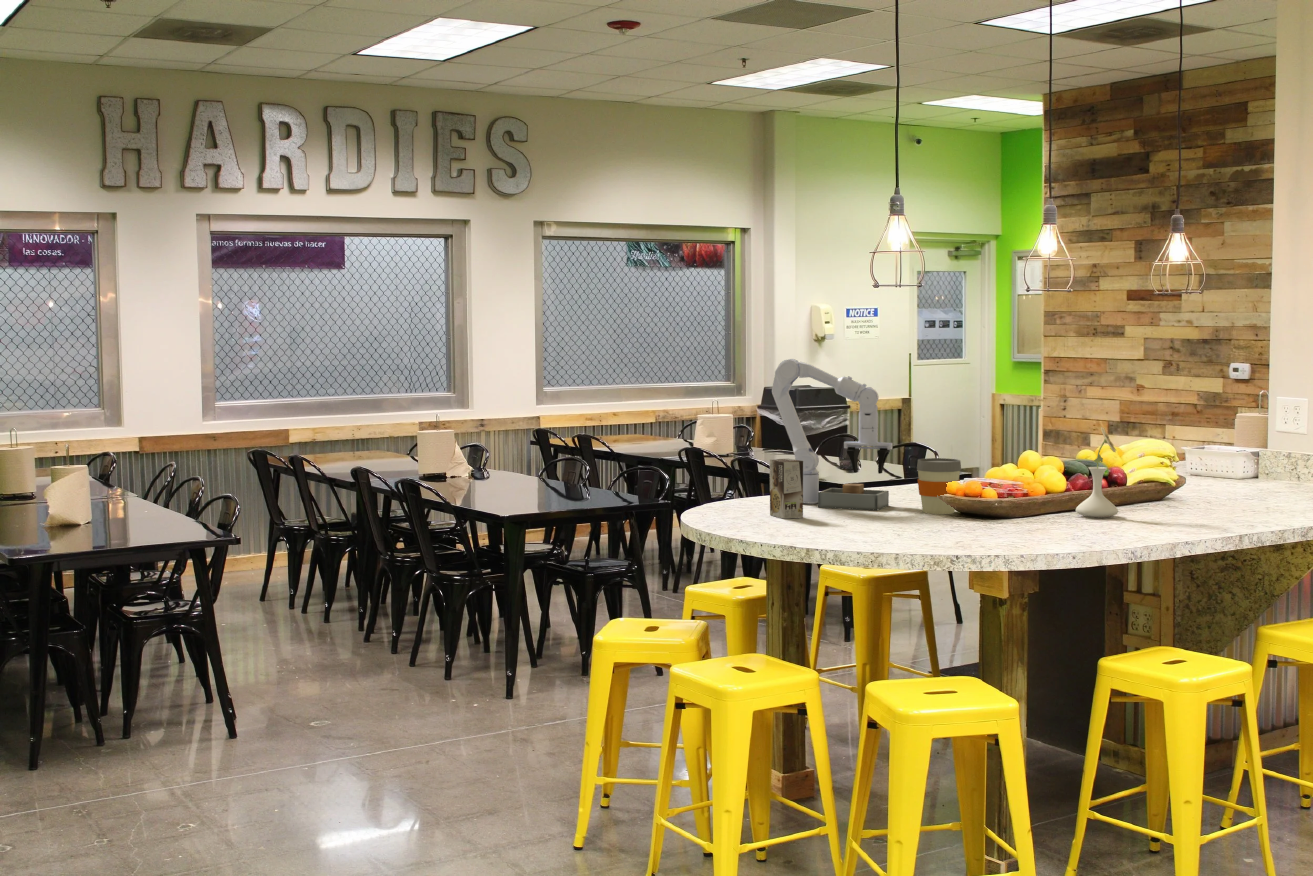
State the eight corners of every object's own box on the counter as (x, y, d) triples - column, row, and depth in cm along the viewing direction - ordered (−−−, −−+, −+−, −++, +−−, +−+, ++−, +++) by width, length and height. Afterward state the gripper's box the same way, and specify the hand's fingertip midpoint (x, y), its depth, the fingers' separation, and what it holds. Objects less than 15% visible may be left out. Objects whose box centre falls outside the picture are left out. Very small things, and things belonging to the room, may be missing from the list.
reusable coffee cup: (964, 514, 383) (965, 462, 382) (920, 515, 383) (920, 462, 382) (955, 509, 396) (956, 458, 394) (912, 509, 396) (913, 458, 395)
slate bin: (818, 507, 401) (818, 492, 400) (830, 502, 412) (830, 488, 411) (877, 510, 393) (877, 495, 393) (888, 505, 404) (888, 490, 404)
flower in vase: (1110, 520, 370) (1112, 429, 368) (1069, 517, 376) (1071, 428, 375) (1125, 515, 380) (1127, 426, 378) (1085, 512, 387) (1087, 425, 385)
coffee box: (804, 518, 379) (804, 460, 378) (783, 519, 376) (783, 461, 375) (789, 514, 387) (789, 457, 386) (768, 515, 385) (768, 458, 384)
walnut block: (842, 505, 401) (842, 485, 400) (847, 503, 405) (847, 483, 405) (858, 506, 399) (859, 485, 398) (863, 504, 403) (863, 484, 403)
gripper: (840, 428, 406) (840, 473, 407) (888, 429, 400) (887, 475, 401) (848, 426, 413) (847, 470, 414) (894, 427, 407) (894, 472, 408)
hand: (867, 472), depth 408 cm, fingers open, 7 cm apart
